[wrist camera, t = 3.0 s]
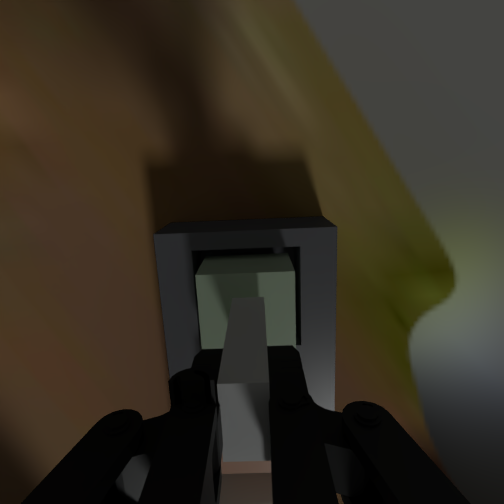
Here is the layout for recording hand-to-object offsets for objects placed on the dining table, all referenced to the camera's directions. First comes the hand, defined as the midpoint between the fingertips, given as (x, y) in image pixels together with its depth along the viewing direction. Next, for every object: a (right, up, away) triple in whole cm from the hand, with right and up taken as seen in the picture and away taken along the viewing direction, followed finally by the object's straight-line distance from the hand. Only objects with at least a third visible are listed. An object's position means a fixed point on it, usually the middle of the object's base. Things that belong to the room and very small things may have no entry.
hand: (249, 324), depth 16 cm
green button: (0, +1, +4) cm, 4 cm away
